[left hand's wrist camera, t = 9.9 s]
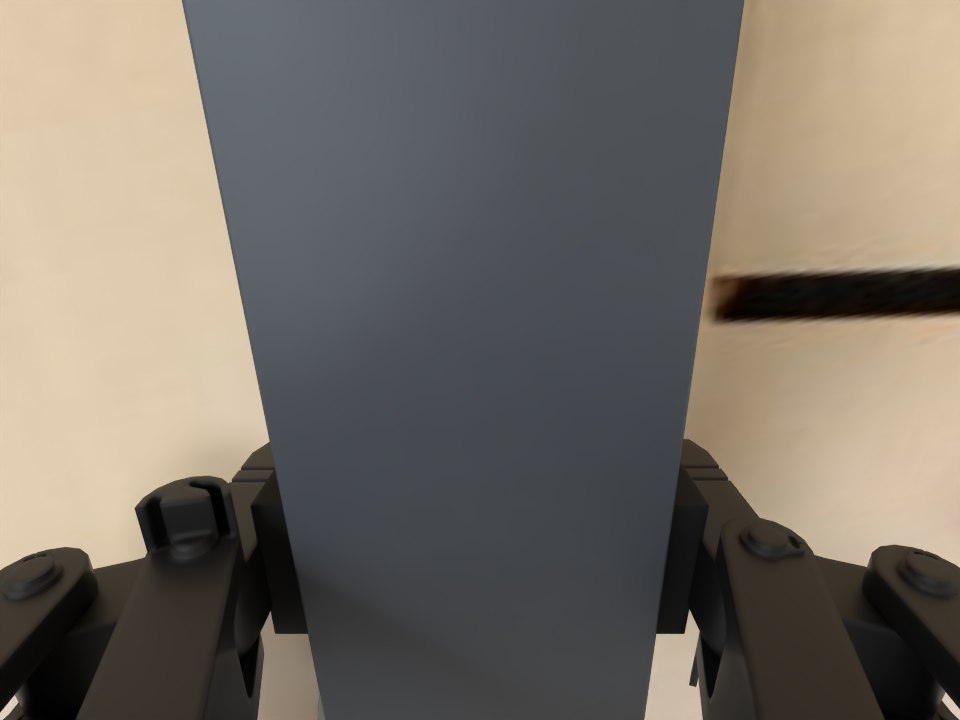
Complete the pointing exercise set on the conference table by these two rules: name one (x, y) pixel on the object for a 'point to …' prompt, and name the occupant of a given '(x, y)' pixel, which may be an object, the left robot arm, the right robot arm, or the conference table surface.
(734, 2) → the bar
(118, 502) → the conference table surface
